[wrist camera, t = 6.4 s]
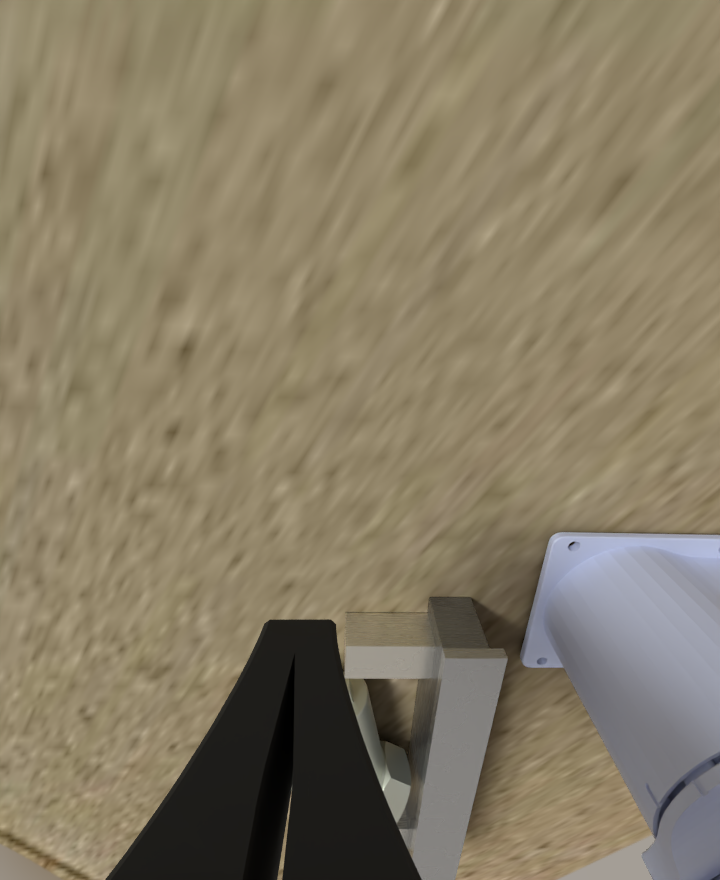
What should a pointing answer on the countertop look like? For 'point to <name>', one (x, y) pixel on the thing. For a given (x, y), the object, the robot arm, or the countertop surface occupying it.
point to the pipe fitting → (381, 751)
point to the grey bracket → (435, 715)
